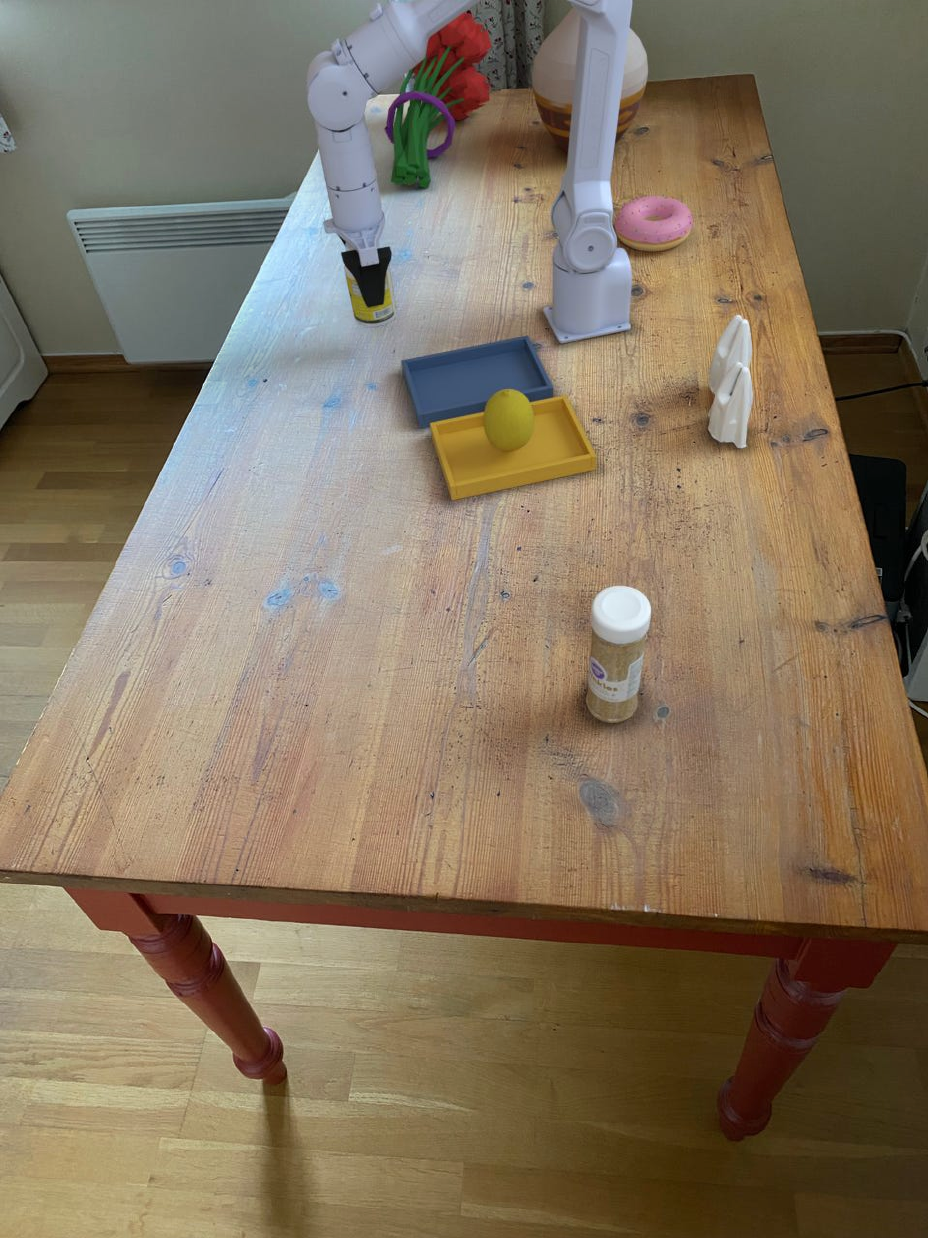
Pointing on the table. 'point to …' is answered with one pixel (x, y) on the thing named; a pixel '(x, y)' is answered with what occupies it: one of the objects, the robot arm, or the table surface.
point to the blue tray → (473, 378)
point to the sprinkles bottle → (616, 652)
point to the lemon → (508, 420)
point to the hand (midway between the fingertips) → (371, 291)
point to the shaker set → (731, 384)
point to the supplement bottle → (374, 314)
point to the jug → (558, 78)
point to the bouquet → (437, 96)
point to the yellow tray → (490, 469)
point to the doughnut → (653, 223)
